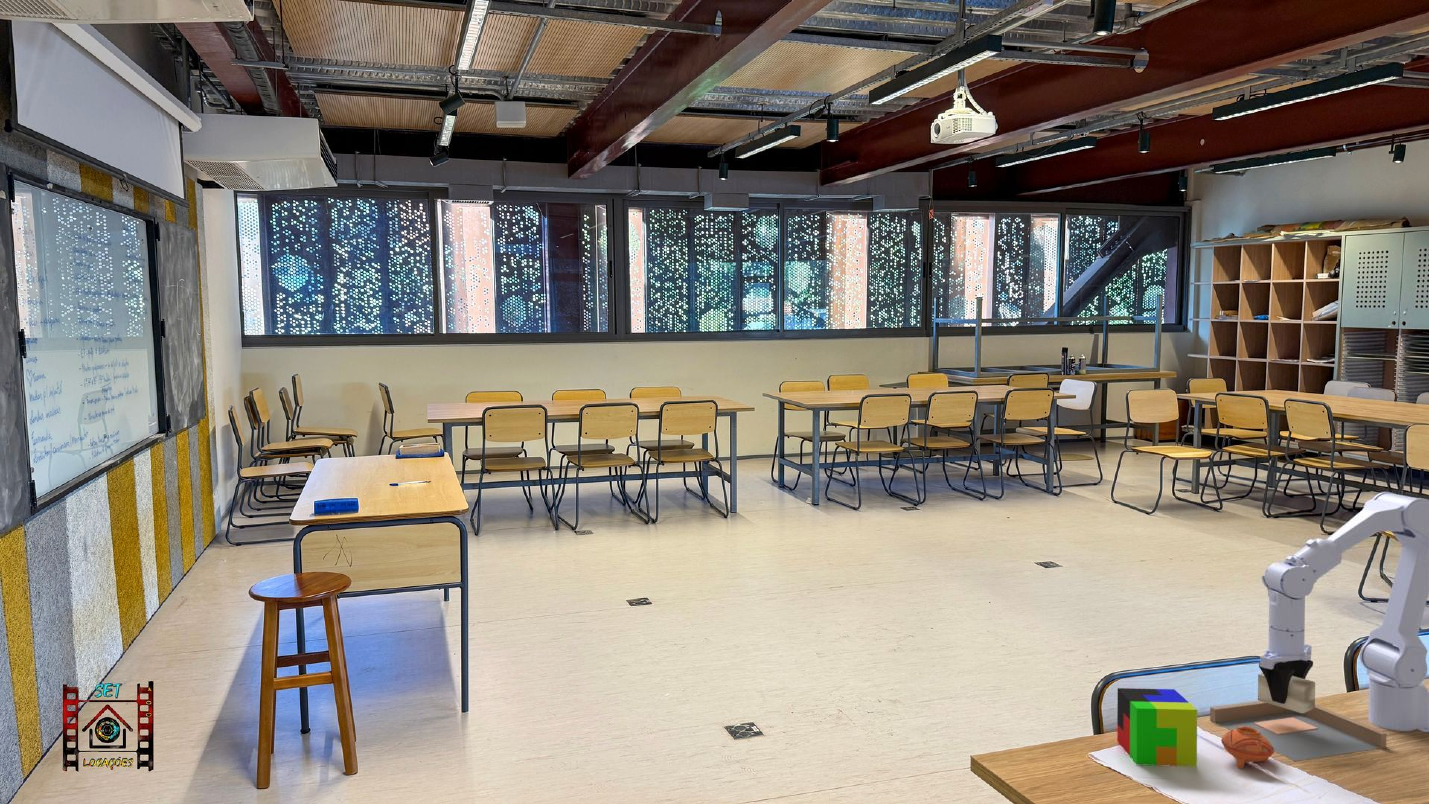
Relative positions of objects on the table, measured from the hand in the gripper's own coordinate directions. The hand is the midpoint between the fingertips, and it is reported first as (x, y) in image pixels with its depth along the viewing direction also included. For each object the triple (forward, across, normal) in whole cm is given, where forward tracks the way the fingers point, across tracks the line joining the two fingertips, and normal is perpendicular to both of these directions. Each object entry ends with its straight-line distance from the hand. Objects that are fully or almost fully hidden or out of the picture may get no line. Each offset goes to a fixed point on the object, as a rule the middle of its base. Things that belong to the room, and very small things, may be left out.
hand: (1285, 699), depth 174 cm
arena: (+6, -2, -3) cm, 7 cm away
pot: (+6, -20, -4) cm, 21 cm away
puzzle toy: (+6, -29, +8) cm, 31 cm away
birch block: (+1, 0, 0) cm, 1 cm away
